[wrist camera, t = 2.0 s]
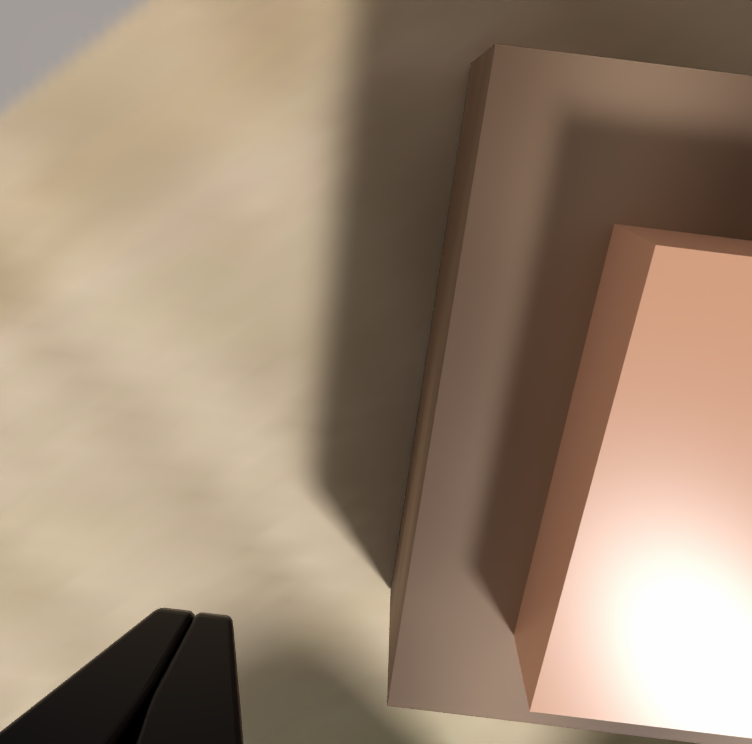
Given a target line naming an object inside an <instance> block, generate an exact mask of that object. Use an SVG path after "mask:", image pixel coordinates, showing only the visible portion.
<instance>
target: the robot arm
mask: <svg viewBox="0 0 752 744" xmlns="http://www.w3.org/2000/svg"><path fill="white" fill-rule="evenodd" d="M0 744H244V742H243V731H242V719H241V708H240V697H239V686H238V674H237V663H236V652H235V641H234V629H233V621H232V619H231V617H230V616H227V615H219V614H211V613H199V614H197V615H196V616H195V615H194V614H193V613H192V612H191V611H187V610H179V609H171V608H160V609H157V610H155V611H154V612H152V613H151V614H150V615H149V616H147V617H146V618H145V619H143V620H142V621H141V622H140V623H138V624H137V625H136V626H135V627H133V628H132V629H131V630H129V631H128V632H127V633H126V634H124V635H123V636H122V637H121V638H119V639H118V640H117V641H115V642H114V643H113V644H112V645H110V646H109V647H108V648H107V649H105V650H104V651H103V652H101V653H100V654H99V655H98V656H96V657H95V658H94V659H93V660H91V661H90V662H89V663H87V664H86V665H85V666H84V667H82V668H81V669H80V670H79V671H77V672H76V673H75V674H73V675H72V676H71V677H70V678H68V679H67V680H66V681H65V682H63V683H62V684H61V685H59V686H58V687H57V688H56V689H54V690H53V691H52V692H51V693H49V694H48V695H47V696H45V697H44V698H43V699H42V700H40V701H39V702H38V703H37V704H35V705H34V706H33V707H31V708H30V709H29V710H28V711H26V712H25V713H24V714H23V715H21V716H20V717H19V718H17V719H16V720H15V721H14V722H12V723H11V724H10V725H9V726H7V727H6V728H5V729H3V730H2V731H1V732H0Z"/></svg>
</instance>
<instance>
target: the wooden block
mask: <svg viewBox="0 0 752 744" xmlns="http://www.w3.org/2000/svg"><path fill="white" fill-rule="evenodd" d="M614 224H620V225H628V226H636V227H644V228H652V229H660V230H669V231H677V232H685V233H693V234H701V235H709V236H717V237H725V238H733V239H741V240H749V241H752V76H750V75H742V74H734V73H726V72H718V71H710V70H702V69H694V68H686V67H678V66H670V65H662V64H654V63H646V62H638V61H630V60H622V59H614V58H606V57H598V56H590V55H582V54H574V53H566V52H558V51H550V50H542V49H534V48H526V47H518V46H510V45H502V44H494V45H493V46H492V47H491V48H489V49H488V50H487V51H486V52H485V53H483V54H482V55H481V56H480V57H478V58H477V59H476V60H475V61H473V62H472V63H471V69H470V76H469V82H468V89H467V95H466V102H465V108H464V115H463V122H462V128H461V135H460V141H459V148H458V154H457V161H456V167H455V174H454V180H453V187H452V193H451V200H450V206H449V213H448V220H447V226H446V233H445V239H444V246H443V252H442V259H441V265H440V272H439V278H438V285H437V291H436V298H435V305H434V311H433V318H432V324H431V331H430V337H429V344H428V350H427V357H426V363H425V370H424V376H423V383H422V389H421V396H420V403H419V409H418V416H417V422H416V429H415V435H414V442H413V448H412V455H411V461H410V468H409V474H408V481H407V488H406V494H405V501H404V507H403V514H402V520H401V527H400V533H399V540H398V546H397V553H396V559H395V566H394V573H393V579H392V586H391V596H390V629H389V663H388V696H387V706H394V707H402V708H410V709H418V710H427V711H435V712H443V713H451V714H460V715H468V716H476V717H484V718H493V719H501V720H509V721H517V722H526V723H534V724H542V725H550V726H559V727H567V728H575V729H583V730H592V731H600V732H608V733H616V734H625V735H633V736H641V737H650V738H658V739H666V740H674V741H683V742H691V743H699V744H752V738H744V737H736V736H728V735H719V734H711V733H703V732H695V731H686V730H678V729H670V728H662V727H653V726H645V725H637V724H629V723H620V722H612V721H604V720H596V719H587V718H579V717H571V716H563V715H554V714H546V713H538V712H530V711H529V706H528V701H527V696H526V692H525V687H524V682H523V677H522V673H521V668H520V663H519V658H518V653H517V649H516V644H515V639H514V632H515V628H516V624H517V620H518V615H519V611H520V607H521V603H522V599H523V595H524V591H525V587H526V583H527V579H528V575H529V570H530V566H531V562H532V558H533V554H534V550H535V546H536V542H537V538H538V534H539V530H540V525H541V521H542V517H543V513H544V509H545V505H546V501H547V497H548V493H549V489H550V485H551V480H552V476H553V472H554V468H555V464H556V460H557V456H558V452H559V448H560V444H561V440H562V435H563V431H564V427H565V423H566V419H567V415H568V411H569V407H570V403H571V399H572V395H573V390H574V386H575V382H576V378H577V374H578V370H579V366H580V362H581V358H582V354H583V350H584V345H585V341H586V337H587V333H588V329H589V325H590V321H591V317H592V313H593V309H594V305H595V300H596V296H597V292H598V288H599V284H600V280H601V276H602V272H603V268H604V264H605V260H606V255H607V251H608V247H609V243H610V239H611V235H612V231H613V227H614Z"/></svg>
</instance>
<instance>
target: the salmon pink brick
mask: <svg viewBox="0 0 752 744" xmlns="http://www.w3.org/2000/svg"><path fill="white" fill-rule="evenodd" d="M514 639H515V644H516V649H517V653H518V658H519V663H520V668H521V673H522V677H523V682H524V687H525V692H526V696H527V701H528V706H529V711H530V712H538V713H546V714H554V715H563V716H571V717H579V718H587V719H596V720H604V721H612V722H620V723H629V724H637V725H645V726H653V727H662V728H670V729H678V730H686V731H695V732H703V733H711V734H719V735H728V736H736V737H744V738H752V241H749V240H741V239H733V238H725V237H717V236H709V235H701V234H693V233H685V232H677V231H669V230H660V229H652V228H644V227H636V226H628V225H620V224H614V227H613V231H612V235H611V239H610V243H609V247H608V251H607V255H606V260H605V264H604V268H603V272H602V276H601V280H600V284H599V288H598V292H597V296H596V300H595V305H594V309H593V313H592V317H591V321H590V325H589V329H588V333H587V337H586V341H585V345H584V350H583V354H582V358H581V362H580V366H579V370H578V374H577V378H576V382H575V386H574V390H573V395H572V399H571V403H570V407H569V411H568V415H567V419H566V423H565V427H564V431H563V435H562V440H561V444H560V448H559V452H558V456H557V460H556V464H555V468H554V472H553V476H552V480H551V485H550V489H549V493H548V497H547V501H546V505H545V509H544V513H543V517H542V521H541V525H540V530H539V534H538V538H537V542H536V546H535V550H534V554H533V558H532V562H531V566H530V570H529V575H528V579H527V583H526V587H525V591H524V595H523V599H522V603H521V607H520V611H519V615H518V620H517V624H516V628H515V632H514Z"/></svg>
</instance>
